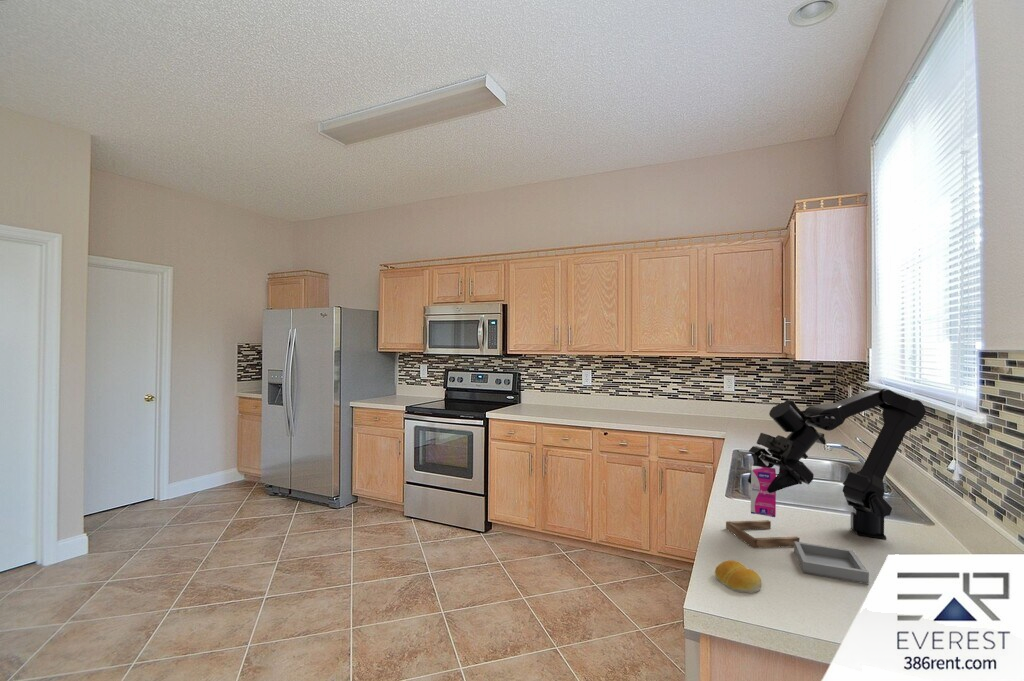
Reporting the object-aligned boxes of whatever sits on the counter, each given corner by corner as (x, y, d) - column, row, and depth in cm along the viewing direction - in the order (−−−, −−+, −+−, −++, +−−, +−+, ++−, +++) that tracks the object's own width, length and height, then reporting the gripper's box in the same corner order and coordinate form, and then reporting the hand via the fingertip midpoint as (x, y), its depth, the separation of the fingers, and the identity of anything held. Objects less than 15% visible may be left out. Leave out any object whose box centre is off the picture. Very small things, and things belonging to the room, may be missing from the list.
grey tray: (852, 560, 112) (852, 550, 112) (868, 584, 100) (868, 572, 101) (794, 551, 116) (794, 541, 116) (803, 573, 105) (803, 561, 105)
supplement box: (750, 514, 123) (750, 470, 123) (750, 507, 128) (750, 465, 128) (776, 518, 121) (776, 473, 121) (775, 510, 126) (775, 467, 126)
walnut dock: (768, 527, 131) (768, 520, 131) (799, 546, 119) (799, 538, 119) (725, 528, 130) (725, 521, 130) (753, 547, 118) (753, 539, 118)
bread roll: (741, 598, 95) (741, 578, 95) (708, 577, 103) (708, 558, 103) (772, 591, 98) (772, 571, 98) (737, 571, 106) (737, 553, 106)
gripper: (755, 417, 134) (718, 457, 133) (803, 429, 116) (760, 476, 114) (780, 444, 135) (744, 484, 134) (832, 460, 117) (790, 507, 115)
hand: (758, 486), depth 124 cm, fingers closed on supplement box, 8 cm apart
